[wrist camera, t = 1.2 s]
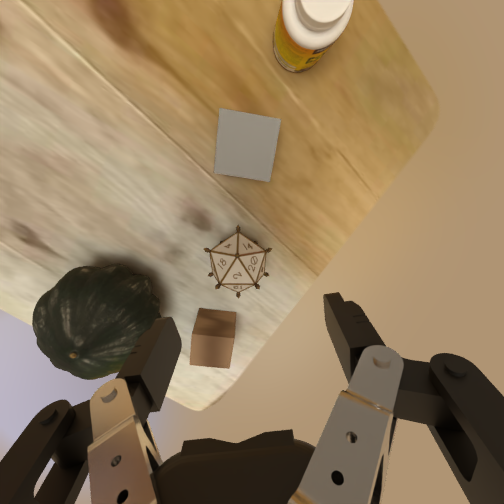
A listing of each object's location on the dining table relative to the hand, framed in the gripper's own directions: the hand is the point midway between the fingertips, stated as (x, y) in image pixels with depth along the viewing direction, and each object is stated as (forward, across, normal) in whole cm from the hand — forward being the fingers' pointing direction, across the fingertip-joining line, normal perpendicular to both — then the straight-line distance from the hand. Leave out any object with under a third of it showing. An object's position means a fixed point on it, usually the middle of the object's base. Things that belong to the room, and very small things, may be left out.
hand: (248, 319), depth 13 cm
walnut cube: (+22, +10, +18) cm, 30 cm away
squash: (+22, +22, +9) cm, 33 cm away
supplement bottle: (+23, -8, -17) cm, 30 cm away
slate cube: (+23, -1, -8) cm, 24 cm away
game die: (+23, +3, +6) cm, 23 cm away
